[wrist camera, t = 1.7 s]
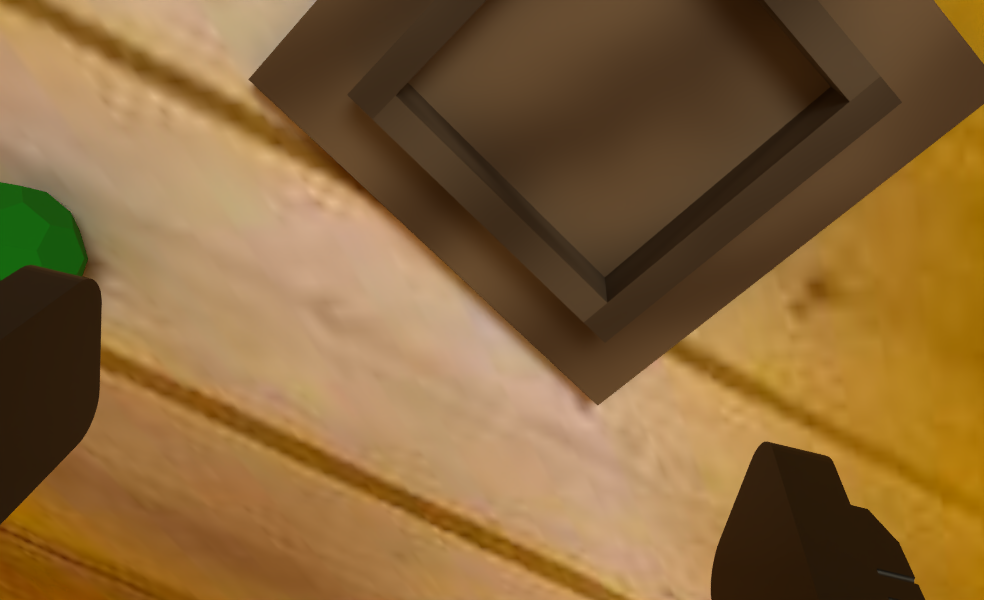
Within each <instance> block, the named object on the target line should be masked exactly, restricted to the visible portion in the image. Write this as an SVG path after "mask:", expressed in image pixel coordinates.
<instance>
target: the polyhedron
mask: <svg viewBox="0 0 984 600" xmlns="http://www.w3.org/2000/svg"><path fill="white" fill-rule="evenodd" d="M87 260H88V258H87V254H86V251H85V247H84V244H83V240H82V237H81V234H80V231H79V229H78V226H77V224H76V222H75V220H74V218H73V216H72V214H71V212H70V211H68V210H67V209H66V208H65V207H64V206H62V205H61V204H60V203H59V202H58V201H56V200H55V199H54V198H53V197H52V196H50V195H49V194H48V193H47V192H44V191H40V190H35V189H31V188H27V187H23V186H18V185H12V184H7V183H1V182H0V281H1V280H3V279H4V278H6V277H7V276H9V275H11V274H12V273H14V272H15V271H17V270H19V269H20V268H22V267H24V266H27V265H35V266H39V267H43V268H47V269H52V270H56V271H60V272H64V273H68V274H73V275H77V276H81V277H82V275H83V272H84V269H85V266H86V263H87Z"/></svg>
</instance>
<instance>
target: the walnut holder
mask: <svg viewBox="0 0 984 600" xmlns="http://www.w3.org/2000/svg"><path fill="white" fill-rule="evenodd" d="M249 80H250V81H251V82H252V83H253V84H254V85H255V86H256V87H257V88H258V89H259V90H260V91H261V92H262V93H264V94H265V95H266V96H267V97H268V98H269V99H270V100H271V101H272V102H273V103H274V104H275V105H276V106H277V107H279V108H280V109H281V110H282V111H283V112H284V113H285V114H286V115H287V116H288V117H289V118H290V119H291V120H292V121H294V122H295V123H296V124H297V125H298V126H299V127H300V128H301V129H302V130H303V131H304V132H305V133H306V134H307V135H309V136H310V137H311V138H312V139H313V140H314V141H315V142H316V143H317V144H318V145H319V146H320V147H321V148H322V149H324V150H325V151H326V152H327V153H328V154H329V155H330V156H331V157H332V158H333V159H334V160H335V161H336V162H337V163H339V164H340V165H341V166H342V167H343V168H344V169H345V170H346V171H347V172H348V173H349V174H350V175H351V176H352V177H354V178H355V179H356V180H357V181H358V182H359V183H360V184H361V185H362V186H363V187H364V188H365V189H366V190H367V191H369V192H370V193H371V194H372V195H373V196H374V197H375V198H376V199H377V200H378V201H379V202H380V203H381V204H382V205H384V206H385V207H386V208H387V209H388V210H389V211H390V212H391V213H392V214H393V215H394V216H395V217H396V218H397V219H399V220H400V221H401V222H402V223H403V224H404V225H405V226H406V227H407V228H408V229H409V230H410V231H411V232H412V233H414V234H415V235H416V236H417V237H418V238H419V239H420V240H421V241H422V242H423V243H424V244H425V245H426V246H427V247H429V248H430V249H431V250H432V251H433V252H434V253H435V254H436V255H437V256H438V257H439V258H440V259H441V260H442V261H444V262H445V263H446V264H447V265H448V266H449V267H450V268H451V269H452V270H453V271H454V272H455V273H456V274H457V275H459V276H460V277H461V278H462V279H463V280H464V281H465V282H466V283H467V284H468V285H469V286H470V287H471V288H472V289H474V290H475V291H476V292H477V293H478V294H479V295H480V296H481V297H482V298H483V299H484V300H485V301H486V302H487V303H489V304H490V305H491V306H492V307H493V308H494V309H495V310H496V311H497V312H498V313H499V314H500V315H501V316H502V317H504V318H505V319H506V320H507V321H508V322H509V323H510V324H511V325H512V326H513V327H514V328H515V329H516V330H517V331H519V332H520V333H521V334H522V335H523V336H524V337H525V338H526V339H527V340H528V341H529V342H530V343H531V344H532V345H534V346H535V347H536V348H537V349H538V350H539V351H540V352H541V353H542V354H543V355H544V356H545V357H546V358H547V359H549V360H550V361H551V362H552V363H553V364H554V365H555V366H556V367H557V368H558V369H559V370H560V371H561V372H562V373H564V374H565V375H566V376H567V377H568V378H569V379H570V380H571V381H572V382H573V383H574V384H575V385H576V386H577V387H579V388H580V389H581V390H582V391H583V392H584V393H585V394H586V395H587V396H588V397H589V398H590V399H591V400H592V401H594V402H595V403H596V404H597V405H599V404H600V403H602V402H603V401H604V400H605V399H607V398H608V397H609V396H610V395H612V394H613V393H614V392H616V391H617V390H618V389H619V388H621V387H622V386H623V385H625V384H626V383H627V382H628V381H630V380H631V379H632V378H634V377H635V376H636V375H637V374H639V373H640V372H641V371H642V370H644V369H645V368H646V367H648V366H649V365H650V364H651V363H653V362H654V361H655V360H657V359H658V358H659V357H660V356H662V355H663V354H664V353H666V352H667V351H668V350H669V349H671V348H672V347H673V346H674V345H676V344H677V343H678V342H680V341H681V340H682V339H683V338H685V337H686V336H687V335H689V334H690V333H691V332H692V331H694V330H695V329H696V328H698V327H699V326H700V325H701V324H703V323H704V322H705V321H706V320H708V319H709V318H710V317H712V316H713V315H714V314H715V313H717V312H718V311H719V310H721V309H722V308H723V307H724V306H726V305H727V304H728V303H730V302H731V301H732V300H733V299H735V298H736V297H737V296H738V295H740V294H741V293H742V292H744V291H745V290H746V289H747V288H749V287H750V286H751V285H753V284H754V283H755V282H756V281H758V280H759V279H760V278H762V277H763V276H764V275H765V274H767V273H768V272H769V271H770V270H772V269H773V268H774V267H776V266H777V265H778V264H779V263H781V262H782V261H783V260H785V259H786V258H787V257H788V256H790V255H791V254H792V253H794V252H795V251H796V250H797V249H799V248H800V247H801V246H802V245H804V244H805V243H806V242H808V241H809V240H810V239H811V238H813V237H814V236H815V235H817V234H818V233H819V232H820V231H822V230H823V229H824V228H826V227H827V226H828V225H829V224H831V223H832V222H833V221H834V220H836V219H837V218H838V217H840V216H841V215H842V214H843V213H845V212H846V211H847V210H849V209H850V208H851V207H852V206H854V205H855V204H856V203H858V202H859V201H860V200H861V199H863V198H864V197H865V196H866V195H868V194H869V193H870V192H872V191H873V190H874V189H875V188H877V187H878V186H879V185H881V184H882V183H883V182H884V181H886V180H887V179H888V178H890V177H891V176H892V175H893V174H895V173H896V172H897V171H898V170H900V169H901V168H902V167H904V166H905V165H906V164H907V163H909V162H910V161H911V160H913V159H914V158H915V157H916V156H918V155H919V154H920V153H922V152H923V151H924V150H925V149H927V148H928V147H929V146H930V145H932V144H933V143H934V142H936V141H937V140H938V139H939V138H941V137H942V136H943V135H945V134H946V133H947V132H948V131H950V130H951V129H952V128H954V127H955V126H956V125H957V124H959V123H960V122H961V121H962V120H964V119H965V118H966V117H968V116H969V115H970V114H971V113H973V112H974V111H975V110H977V109H978V108H979V107H980V106H982V105H983V104H984V64H983V63H982V62H981V60H980V59H979V58H978V56H977V55H976V54H975V53H974V51H973V50H972V49H971V48H970V46H969V45H968V44H967V42H966V41H965V40H964V39H963V37H962V36H961V35H960V34H959V32H958V31H957V30H956V28H955V27H954V26H953V25H952V23H951V22H950V21H949V20H948V18H947V17H946V16H945V14H944V13H943V12H942V11H941V9H940V8H939V7H938V6H937V4H936V3H935V2H934V0H317V1H316V2H315V3H314V4H313V6H312V7H311V8H310V9H309V10H308V11H307V13H306V14H305V15H304V16H303V17H302V18H301V19H300V21H299V22H298V23H297V24H296V25H295V26H294V28H293V29H292V30H291V31H290V32H289V33H288V34H287V36H286V37H285V38H284V39H283V40H282V41H281V43H280V44H279V45H278V46H277V47H276V48H275V50H274V51H273V52H272V53H271V54H270V55H269V56H268V58H267V59H266V60H265V61H264V62H263V63H262V65H261V66H260V67H259V68H258V69H257V70H256V71H255V73H254V74H253V75H252V76H251V77H250V78H249Z"/></svg>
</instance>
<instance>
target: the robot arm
mask: <svg viewBox="0 0 984 600" xmlns="http://www.w3.org/2000/svg"><path fill="white" fill-rule="evenodd" d="M101 308H102V299H101V291H100V288H99V286H98V284H97V283H96V282H95V281H94V280H92V279H89V278H85V277H81V276H77V275H73V274H68V273H64V272H60V271H56V270H52V269H47V268H43V267H39V266H35V265H27V266H24V267H22V268H20V269H19V270H17V271H15V272H14V273H12V274H11V275H9V276H7V277H6V278H4V279H3V280H1V281H0V524H1V523H2V522H3V521H4V520H5V519H6V518H7V517H8V516H9V515H10V514H11V513H12V512H13V511H14V510H15V509H16V508H17V507H18V506H19V505H20V504H21V503H22V502H23V501H24V500H25V499H26V498H27V496H28V495H29V494H30V493H31V492H32V491H33V490H34V489H35V488H36V487H37V486H38V485H39V484H40V483H41V482H42V481H43V480H44V479H45V478H46V477H47V476H48V475H49V474H50V473H51V472H52V471H53V470H54V469H55V468H56V467H57V465H58V464H59V463H60V462H61V461H62V460H63V459H64V458H65V457H66V456H67V455H68V454H69V453H70V452H71V451H72V450H73V449H74V448H75V447H76V446H77V445H78V444H79V443H80V441H81V440H82V439H83V437H84V436H85V434H86V433H87V431H88V429H89V427H90V425H91V423H92V420H93V418H94V415H95V412H96V409H97V404H98V399H99V390H100V349H101ZM914 579H915V577H914V574H913V572H912V570H911V568H910V566H909V563H908V561H907V559H906V557H905V555H904V553H903V550H902V548H901V546H900V544H899V542H898V541H897V540H896V539H895V538H894V537H893V536H892V535H891V534H890V533H889V532H888V530H887V529H886V528H885V527H884V526H883V525H882V524H881V523H880V522H879V521H878V520H877V519H876V518H875V516H874V515H873V514H872V513H871V512H870V511H869V510H868V509H865V508H861V507H857V506H853V505H851V504H850V502H849V500H848V497H847V495H846V492H845V490H844V487H843V485H842V482H841V480H840V477H839V475H838V473H837V470H836V468H835V465H834V463H833V461H832V459H831V458H830V457H828V456H825V455H821V454H817V453H813V452H808V451H804V450H800V449H796V448H792V447H787V446H783V445H779V444H775V443H771V442H763V443H762V444H761V445H760V446H759V447H758V448H757V450H756V451H755V453H754V455H753V458H752V460H751V462H750V465H749V467H748V470H747V472H746V475H745V477H744V480H743V483H742V485H741V488H740V490H739V493H738V495H737V498H736V500H735V503H734V505H733V508H732V510H731V513H730V515H729V518H728V521H727V523H726V526H725V528H724V531H723V533H722V536H721V538H720V541H719V544H718V546H717V550H716V553H715V558H714V562H713V568H712V576H711V599H712V600H925V598H924V596H923V594H922V592H921V590H920V587H919V585H918V584H914Z"/></svg>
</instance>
